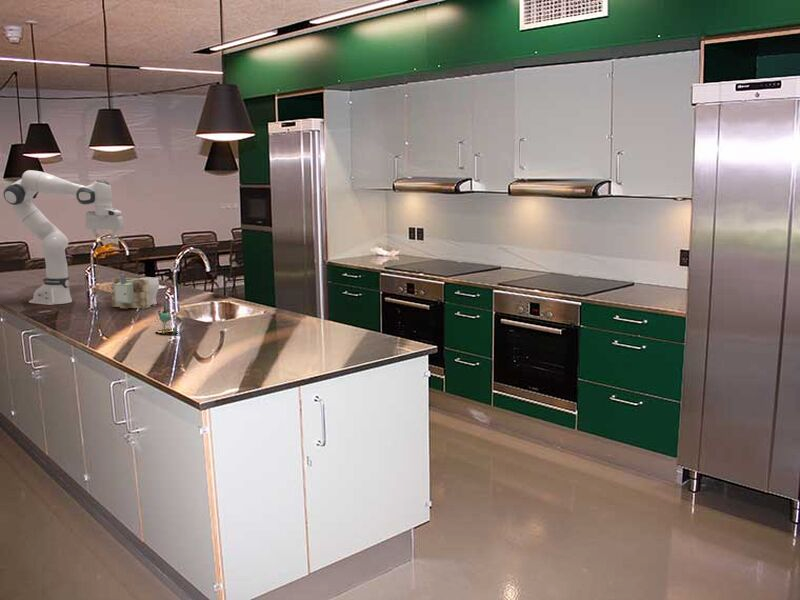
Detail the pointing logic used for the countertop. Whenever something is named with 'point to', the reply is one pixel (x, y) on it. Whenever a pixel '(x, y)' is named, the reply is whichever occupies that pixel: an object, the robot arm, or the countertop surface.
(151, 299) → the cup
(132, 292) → the white square bottle
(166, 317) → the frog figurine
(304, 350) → the countertop surface
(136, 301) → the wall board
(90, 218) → the robot arm
